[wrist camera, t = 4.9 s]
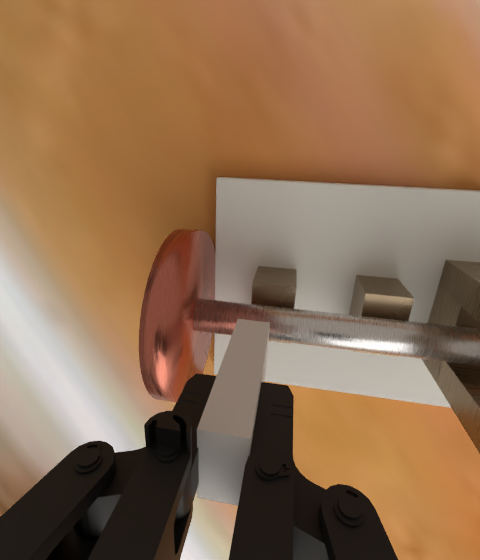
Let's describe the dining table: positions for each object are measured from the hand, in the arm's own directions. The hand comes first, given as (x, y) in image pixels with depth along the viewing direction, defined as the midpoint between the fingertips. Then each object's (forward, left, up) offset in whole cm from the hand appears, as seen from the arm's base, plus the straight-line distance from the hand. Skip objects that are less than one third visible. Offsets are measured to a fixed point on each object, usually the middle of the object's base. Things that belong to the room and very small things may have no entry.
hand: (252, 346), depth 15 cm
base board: (+7, 0, -8) cm, 10 cm away
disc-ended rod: (+5, 0, -7) cm, 8 cm away
